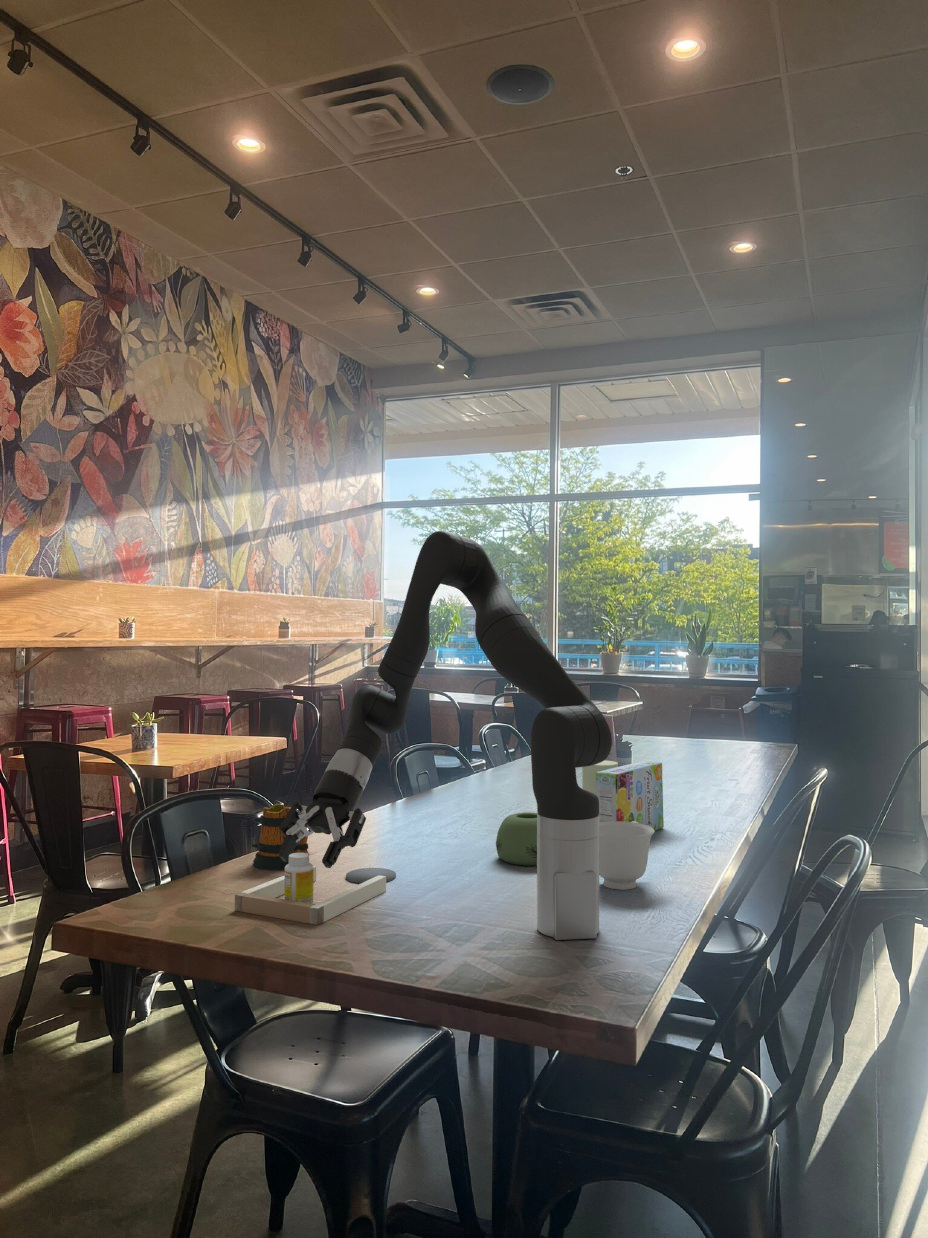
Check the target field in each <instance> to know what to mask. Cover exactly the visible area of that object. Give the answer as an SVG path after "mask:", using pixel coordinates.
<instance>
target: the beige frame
mask: <svg viewBox="0 0 928 1238" xmlns="http://www.w3.org/2000/svg"><path fill="white" fill-rule="evenodd" d="M316 881H317V866H315V865H313V883H314V882H316ZM385 892H387V882H386V876H380V875H378V876H376V877H374V878H372V879H370V880H367V881H365V882H363V883H361V884H360V883H358V884H357V885H355V886H353V887H350V888H348V889H346V890H344V891H342V892H340V893H337V894H335V895H333V896H330V897H329V898H326V899H325V900H322V901H319V902H318V903H316V904H315V903H313V904H310V903H304V902H297V901H291V900H285V898H279V897H280V896H281V897H282V896H283V895H285V874H284V875H282V876H279V877H276V878H274V879H272V880H269V881H266V882H264V883H261V884H259V885H256V886H254V887H251V888H249V889H245V890H243V891H240V892H238V893H236V894H234V911H235V912H241V913H247V914H252V915H257V916H262V917H263V916H264V917H269V918H274V919H275V918H276V919H280V920H281V919H282V920H287V921H292V922H297V923H298V922H299V923H302V924H303V923H304V924H308V925H309V924H310V925H316V926H319V925H321V924H323V923H325V922H327V921H330V920H331V919H333V918H335V917H336V916H339V915H341V914H343V913H345V912H347V911H349V910H351V909H352V908H355V907H357V906H359V905H361V904H363V903H365V902H367V901H369V900H371V899H373V898H375V897H377V896H379V895H381V894H383V893H385Z"/></svg>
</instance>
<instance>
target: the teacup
mask: <svg viewBox="0 0 928 1238" xmlns="http://www.w3.org/2000/svg"><path fill="white" fill-rule="evenodd" d="M655 832H656V830H655V831H654V829H653V828H652V827H650V826H647V825H644V824H639V823H638V822H635V821H633V822H621V821H607V822H599V877H601V878H602V879H603V883H602V884H603V886H604V887H606V888H608V889H611V890H621V891H628V890H632V889H635V888H637V880H639V879H640V878H642V877H643V875H645V873H646V869H647V865H648V859H649V851H650V844H651V839H652V836H653V834H655Z"/></svg>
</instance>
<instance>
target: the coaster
mask: <svg viewBox="0 0 928 1238" xmlns="http://www.w3.org/2000/svg"><path fill="white" fill-rule="evenodd" d="M378 875H380V876H386V883H389V882H391V881H394V880H395V879H396V878H397V873H396V872H395V871H394V870H392V869H388V868H383V867H363V868H356V869H352V870H350V871H348V872H347V873H346V874H345V879H346V881H348V882H351V883H354V884H361V883H363V882H365V881H367V880H370V879H372V878H374V877H376V876H378Z"/></svg>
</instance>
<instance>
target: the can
mask: <svg viewBox="0 0 928 1238" xmlns="http://www.w3.org/2000/svg"><path fill="white" fill-rule="evenodd" d="M616 767H619V763H618V761H613V760H607V759H605V760H604V761H602V762H601V763H598V764H595V765H591V766H586V767H581V769H582V773H581V776H582V780H581V781H582V784H581V785H582V787H581V788H582V789H583V790H586V791H589V792H592V793H594V794H595V795H596V772H599V771H603V770H608V769H612V768H616Z"/></svg>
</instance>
